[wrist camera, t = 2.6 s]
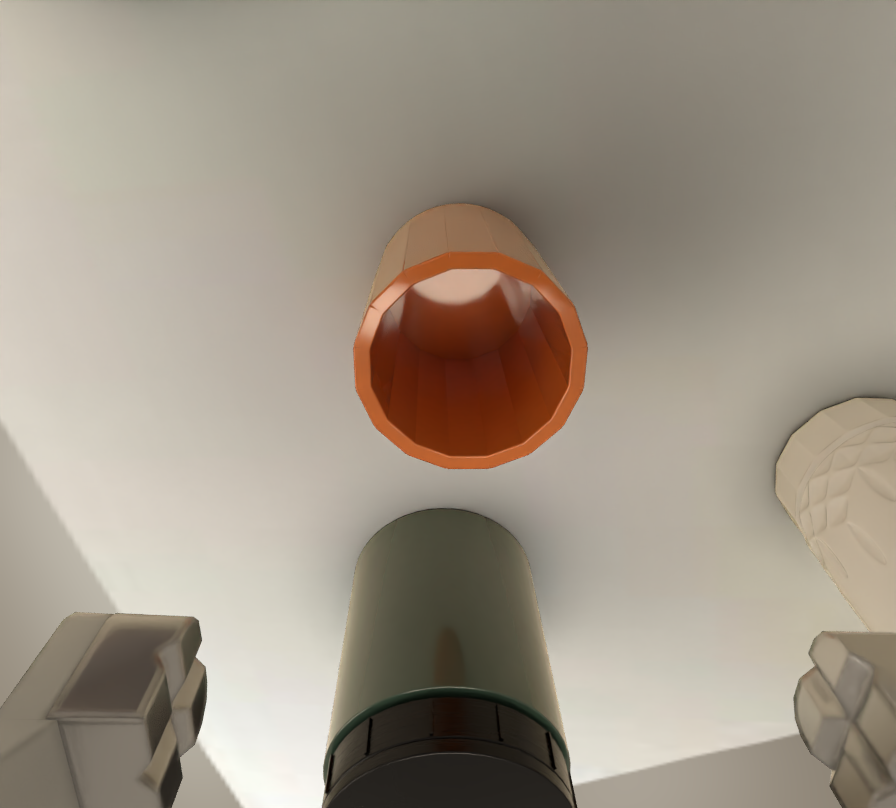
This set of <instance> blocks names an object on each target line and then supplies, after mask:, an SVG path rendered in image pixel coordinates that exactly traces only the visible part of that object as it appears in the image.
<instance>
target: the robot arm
mask: <svg viewBox="0 0 896 808" xmlns="http://www.w3.org/2000/svg"><path fill="white" fill-rule="evenodd" d="M201 642H202V637H201V632H200V626H199V620H197V619H196V618H194V617H187V616H166V615H144V614H123V613H115V614H102V613H84V612H75V613H73V614H72V615H70V616H68V617H66V618H65V619H64V620H63V621H62V622H61V624H60V625H59V627H58V628H57V629H56V631H55V632H54V634H53V635H52V636H51V638H50V639H49V641H48V642H47V643H46V645H45V646H44V647H43V649H42V650H41V652H40V653H39V655H38V656H37V657H36V659H35V660H34V662H33V663H32V664H31V666H30V667H29V669H28V670H27V671H26V673H25V674H24V676H23V677H22V678H21V680H20V681H19V683H18V684H17V686H16V687H15V688H14V690H13V691H12V692H11V694H10V695H9V697H8V698H7V700H6V701H5V702H4V704H3V705H2V707H1V708H0V808H172V805H173V802H174V800H175V797H176V794H177V792H178V789H179V786H180V783H181V781H182V770H181V763H180V757H181V756H182V755H183V754H184V753H186V752H187V751H188V750H189V749H190V748H191V747H193V746H194V745H195V742H196V740H197V737H198V734H199V731H200V728H201V725H202V721H203V716H204V710H205V705H206V700H207V676H206V667H205V666H204V665H203V664H202V663H201V662H200V661H199V660H198V659H197V658H196V657H195V656H196V654H197V651H198V649H199V647H200V644H201ZM808 654H809V656H810V658H811V660H812V661H813V663H814V665H815V667H813V668H812V669H811V670H810V671H808V672H807V673H806V674H805V675H803V676H802V677H801V678H800V679H799V681H798V685H797V688H796V691H795V694H794V712H795V720H796V723H797V726H798V729H799V732H800V735H801V737H802V739H803V741H804V743H805V745H806V746H807V748H808V750H809V752H810V753H811V754H812V755H813V756H814V757H816V758H817V759H818V760H819V761H821V762H822V763H823V764H825V765H826V766H827V767H829V768H830V769H831V770H832V773H831V780H830V788H831V790H832V791H833V793H834V794H835V796H836V798H837V800H838V801H839V803H840V805H841V806H842V808H896V633H892V632H842V631H822V632H821V633H820V634H819V635H818V636H817V637H816V638H815V639H814V640H813V643H812V645H811V648H810V651H809V653H808Z"/></svg>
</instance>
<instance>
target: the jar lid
mask: <svg viewBox="0 0 896 808" xmlns="http://www.w3.org/2000/svg"><path fill="white" fill-rule="evenodd" d="M322 808H577V804H576V799H575V794H574V789H573V784H572V780H571V775H570V772H568V771H567V766H566V761H565V759H564V756H563V753H562V751H561V749H560V748H559V746H558V744H557V743H556V741H555V740H554V739H553V737H552V736H551V733H550V732H549V731H548V732H547V730H545V729H544V728H543V727H542V726H541V725H540V724H538V723H537V722H536V721H534V720H533V719H531V718H530V717H528V716H527V715H525V714H523V713H521V712H519V711H517V710H515V709H513V708H510V707H507V706H504V705H501V704H499V703H495V702H491V701H487V700H482V699H476V698H468V697H433V698H425V699H419V700H414V701H410V702H406V703H402V704H399V705H396V706H393V707H391V708H388V709H385V710H383V711H381V712H379V713H377V714H375V715H373V716H371V717H368V718H367V719H366V720H365V721H363V722H362V723H360V724H359V725H358V726H357V727H355V728H354V729H353V730H352V731H351V732H350V733H349V734H348V735H347V736H346V737H345V738H344V739H343V740H342V742H341V743H340V744H339V746H338V747H337V749H336V751H335V752H334V754H333V755H332V754H331V755H330V760H329V766H328V772H327V778H326V784H325V791H324V797H323V804H322Z"/></svg>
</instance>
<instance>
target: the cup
mask: <svg viewBox="0 0 896 808" xmlns="http://www.w3.org/2000/svg"><path fill="white" fill-rule="evenodd" d="M587 352H588V347H587V341H586V338H585V335H584V332H583V329H582V326H581V323H580V321H579V318H578V315H577V312H576V309H575V306H574V304H573V303H572V301H571V300H570V298H569V297H568V295H567V294H566V292H565V291H564V289H563V288H562V286H561V285H560V284H559V282H558V281H557V279H556V278H555V276H554V275H553V273H552V272H551V270H550V269H549V267H548V266H547V265H546V263H545V262H544V260H543V259H542V257H541V256H540V254H539V253H538V251H537V250H536V248H535V247H534V246H533V244H532V243H531V242H530V241H529V240H528V238H527V237H526V236H525V235H524V234H523V233H522V231H521V230H520V229H519V228H518V227H517V226H516V225H515V224H514V223H513V222H512V221H511V220H509V219H508V218H506V217H504V216H503V215H501V214H499V213H497V212H496V211H494V210H491V209H488V208H486V207H483V206H479V205H474V204H465V203H455V204H446V205H441V206H437V207H434V208H431V209H428V210H426V211H424V212H422V213H420V214H418V215H416V216H415V217H413V218H412V219H410V220H409V221H408V222H407V223H405V224H404V225H403V226H402V227H401V228H400V229H399V230H398V231H397V233H396V234H395V235H394V236H393V237H392V239H391V240H390V242H389V243H388V245H387V246H386V248H385V251H384V253H383V256H382V259H381V261H380V264H379V267H378V269H377V272H376V275H375V278H374V281H373V284H372V287H371V291H370V294H369V297H368V300H367V304H366V307H365V310H364V313H363V316H362V320H361V323H360V326H359V329H358V332H357V336H356V339H355V342H354V347H353V355H354V373H355V388H356V392H357V394H358V396H359V397H360V399H361V401H362V403H363V405H364V407H365V409H366V411H367V413H368V415H369V417H370V419H371V421H372V423H373V425H374V426H375V427H376V429H377V430H379V431H380V432H381V433H382V434H383V435H384V436H386V437H387V438H388V439H389V440H390V441H391V442H393V443H394V444H395V445H396V446H397V447H398V448H400V449H401V450H402V451H403V452H404V453H405V454H408V455H409V456H412V457H415V458H418V459H420V460H423V461H426V462H429V463H432V464H434V465H437V466H440V467H443V468H447V469H489V467H490V468H493V467H496V466H499V465H501V464H504V463H507V462H510V461H513V460H515V459H518V458H521V457H524V456H526V455H529V454H530V453H532V452H533V451H535V450H536V449H537V448H538V447H539V446H540V445H542V444H543V443H544V442H545V441H546V440H548V439H549V438H550V437H551V436H552V435H554V434H555V433H556V432H557V431H558V430H560V429H561V428H562V426H563V425H564V424H565V422H566V420H567V419H568V417H569V415H570V413H571V411H572V409H573V408H574V406H575V404H576V402H577V400H578V398H579V397H580V395H581V393H582V391H583V388H584V382H585V372H586V362H587Z"/></svg>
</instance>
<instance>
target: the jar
mask: <svg viewBox="0 0 896 808" xmlns="http://www.w3.org/2000/svg"><path fill="white" fill-rule="evenodd" d="M433 697H468V698H476V699H482V700H487V701H491V702H495V703H499V704H501V705H504V706H507V707H510V708H513V709H515V710H517V711H519V712H521V713H523V714H525V715H527V716H528V717H530V718H531V719H533V720H534V721H536V722H537V723H538V724H540V725H541V726H542V727H543V728H544V729H545V730H547V732H548V731H549V732H550V733H551V736H552V737H553V739H554V740H555V741H556V743H557V744H558V746H559V748H560V749H561V751H562V753H563V756H564V759H565V761H566V766H567V771H568V772H570V757H569V751H568V747H567V742H566V737H565V732H564V728H563V723H562V718H561V713H560V708H559V704H558V699H557V694H556V689H555V685H554V680H553V675H552V670H551V665H550V661H549V656H548V651H547V646H546V642H545V637H544V632H543V627H542V623H541V618H540V613H539V608H538V603H537V599H536V594H535V589H534V584H533V580H532V575H531V570H530V565H529V562H528V559H527V556H526V554H525V552H524V550H523V548H522V547H521V545H520V544H519V543H518V541H517V540H516V539H515V538H514V537H513V536H512V535H511V534H510V533H509V532H508V531H507V530H506V529H504V528H503V527H502V526H500V525H499V524H497V523H496V522H494V521H492V520H490V519H488V518H486V517H483V516H481V515H479V514H475V513H472V512H468V511H462V510H456V509H431V510H425V511H419V512H416V513H412V514H409V515H406V516H404V517H402V518H399V519H397V520H395V521H393V522H392V523H390V524H388V525H386V526H385V527H384V528H382V529H381V530H380V531H379V532H377V533H376V534H375V535H374V536H373V537H372V538H371V539H370V541H369V542H368V543H367V544H366V546H365V547H364V549H363V550H362V552H361V554H360V556H359V558H358V561H357V564H356V567H355V573H354V579H353V585H352V591H351V597H350V604H349V610H348V616H347V622H346V628H345V635H344V641H343V647H342V653H341V659H340V666H339V672H338V678H337V684H336V691H335V697H334V703H333V709H332V715H331V722H330V728H329V734H328V740H327V746H326V753H325V759H324V765H323V778H324V783H325V784H326V778H327V772H328V766H329V760H330V755H331V754H332V755H333V754H334V752H335V751H336V749H337V747H338V746H339V744H340V743H341V742H342V740H343V739H344V738H345V737H346V736H347V735H348V734H349V733H350V732H351V731H352V730H353V729H354V728H355V727H357V726H358V725H359V724H360V723H362V722H363V721H365V720H366V719H367V718H368V717H371V716H373V715H375V714H377V713H379V712H381V711H383V710H385V709H388V708H391V707H393V706H396V705H399V704H402V703H406V702H410V701H414V700H419V699H425V698H433Z"/></svg>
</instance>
